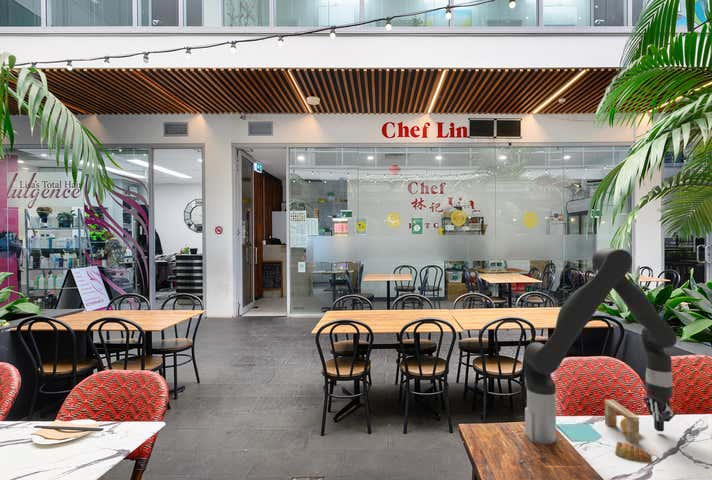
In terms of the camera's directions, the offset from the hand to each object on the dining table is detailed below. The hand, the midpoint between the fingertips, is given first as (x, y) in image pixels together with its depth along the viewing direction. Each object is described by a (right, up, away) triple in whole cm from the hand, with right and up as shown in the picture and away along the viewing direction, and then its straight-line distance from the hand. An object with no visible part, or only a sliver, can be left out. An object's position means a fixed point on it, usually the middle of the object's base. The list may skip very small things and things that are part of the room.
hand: (659, 430), depth 138 cm
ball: (-10, +1, +1) cm, 10 cm away
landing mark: (-27, -2, +2) cm, 27 cm away
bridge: (-13, -2, +1) cm, 13 cm away
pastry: (-20, -2, -14) cm, 24 cm away
